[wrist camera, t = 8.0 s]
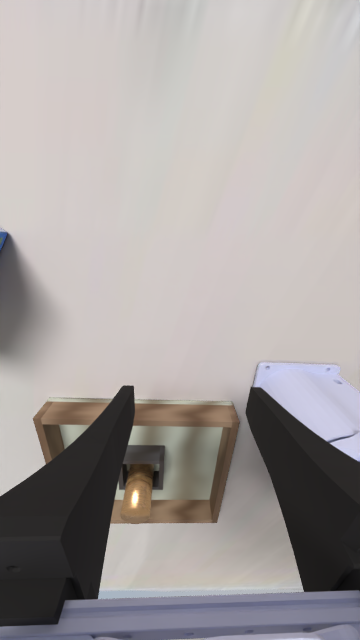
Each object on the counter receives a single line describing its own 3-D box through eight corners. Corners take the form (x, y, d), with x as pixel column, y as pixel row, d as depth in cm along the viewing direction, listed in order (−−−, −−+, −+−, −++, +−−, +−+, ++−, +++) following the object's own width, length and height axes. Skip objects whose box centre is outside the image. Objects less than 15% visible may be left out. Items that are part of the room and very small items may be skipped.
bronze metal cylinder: (153, 450, 26) (148, 506, 21) (155, 466, 28) (151, 523, 22) (129, 452, 26) (117, 508, 21) (132, 467, 28) (122, 524, 22)
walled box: (232, 401, 24) (239, 422, 22) (213, 498, 32) (216, 522, 29) (49, 397, 23) (32, 418, 21) (73, 498, 31) (63, 523, 28)
